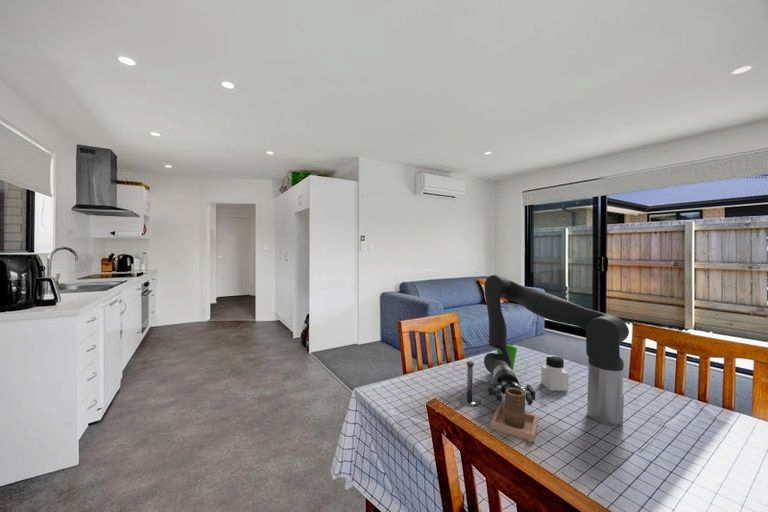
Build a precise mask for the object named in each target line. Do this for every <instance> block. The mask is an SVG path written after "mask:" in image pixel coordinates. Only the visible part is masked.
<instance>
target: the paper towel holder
mask: <svg viewBox="0 0 768 512" xmlns="http://www.w3.org/2000/svg"><path fill="white" fill-rule="evenodd" d="M474 364H475V363H474V362H473V361H469V360H468V361H466V366H467V368H466V369H467V370H466V371H467V372H466V373H467V377H466V379H467V381H466V395H461V396H459V397H458V398H457V402H458V403H459V404H461V405H462V406H465V407H468V408H477V407H480V406H481V405H482V401H481V400H480V399H479V398H478V397H475V396H473V380H474V379H473V378H474V377H473V373H474V372H473V370H474V366H475V365H474Z"/></svg>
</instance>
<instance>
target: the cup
mask: <svg viewBox="0 0 768 512" xmlns="http://www.w3.org/2000/svg"><path fill="white" fill-rule="evenodd" d="M507 349H508V353H509V356H510V359H511V364H512V367H511V370H512V371H513V370H514V367H515V361H516V356H517V351H518V348H517V347H516V346H514V345H511V344H507ZM496 354H502V352H501V350H500V349H498V348H496ZM513 372H514V371H513Z"/></svg>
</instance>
